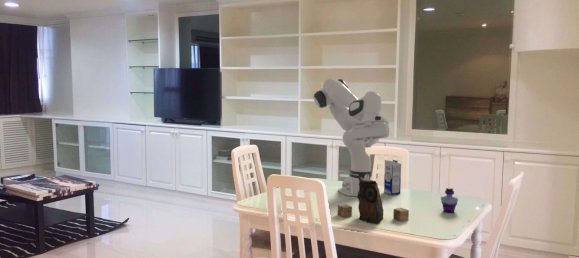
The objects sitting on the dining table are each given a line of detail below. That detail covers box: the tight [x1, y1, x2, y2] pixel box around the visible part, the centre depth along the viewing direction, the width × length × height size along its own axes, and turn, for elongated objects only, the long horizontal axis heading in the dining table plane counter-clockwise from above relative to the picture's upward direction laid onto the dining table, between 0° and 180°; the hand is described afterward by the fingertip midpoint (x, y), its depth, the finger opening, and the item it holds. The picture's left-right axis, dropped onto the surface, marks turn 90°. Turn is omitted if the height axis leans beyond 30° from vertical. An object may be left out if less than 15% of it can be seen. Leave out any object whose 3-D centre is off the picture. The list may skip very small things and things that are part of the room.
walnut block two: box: [392, 207, 410, 222], centre depth 219 cm, size 5×5×5 cm
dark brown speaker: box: [356, 177, 384, 225], centre depth 218 cm, size 13×13×20 cm
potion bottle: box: [440, 187, 459, 214], centre depth 233 cm, size 9×9×12 cm
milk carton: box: [383, 159, 402, 196], centre depth 271 cm, size 7×7×20 cm
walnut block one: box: [337, 203, 353, 219], centre depth 225 cm, size 5×5×5 cm
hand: (367, 147), depth 226 cm, fingers closed
